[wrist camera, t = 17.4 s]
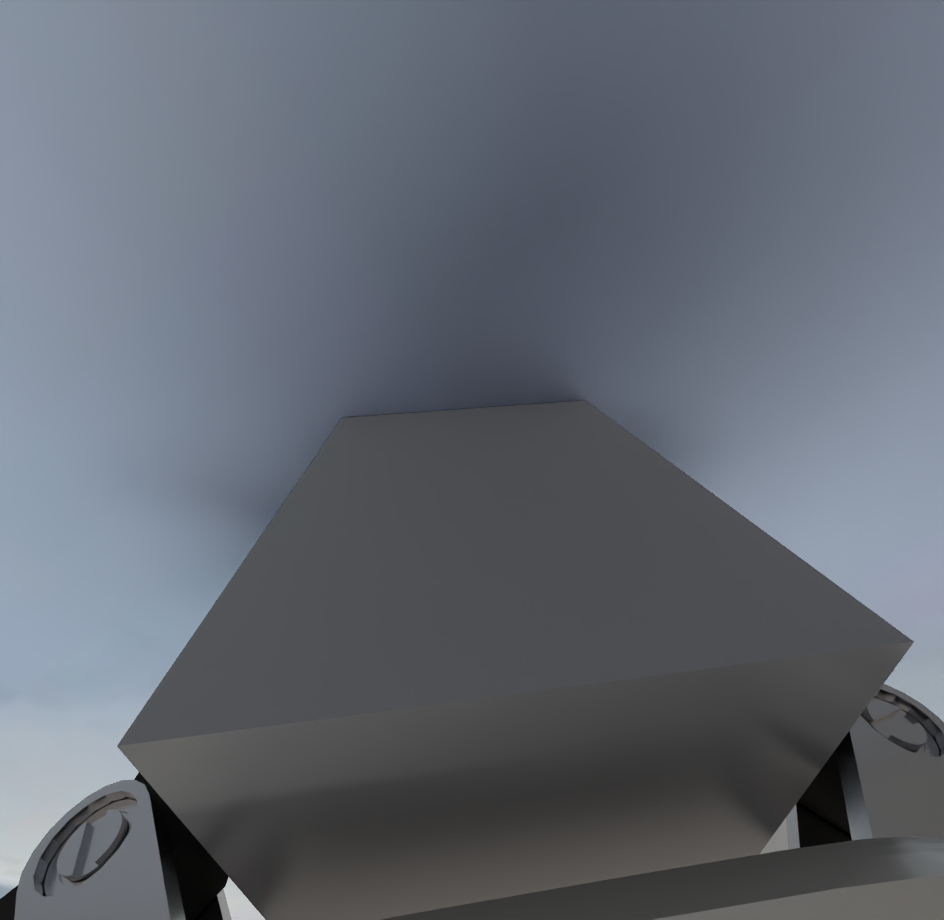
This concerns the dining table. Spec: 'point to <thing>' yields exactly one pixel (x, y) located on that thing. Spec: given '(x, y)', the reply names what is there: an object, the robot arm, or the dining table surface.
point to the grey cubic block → (500, 672)
